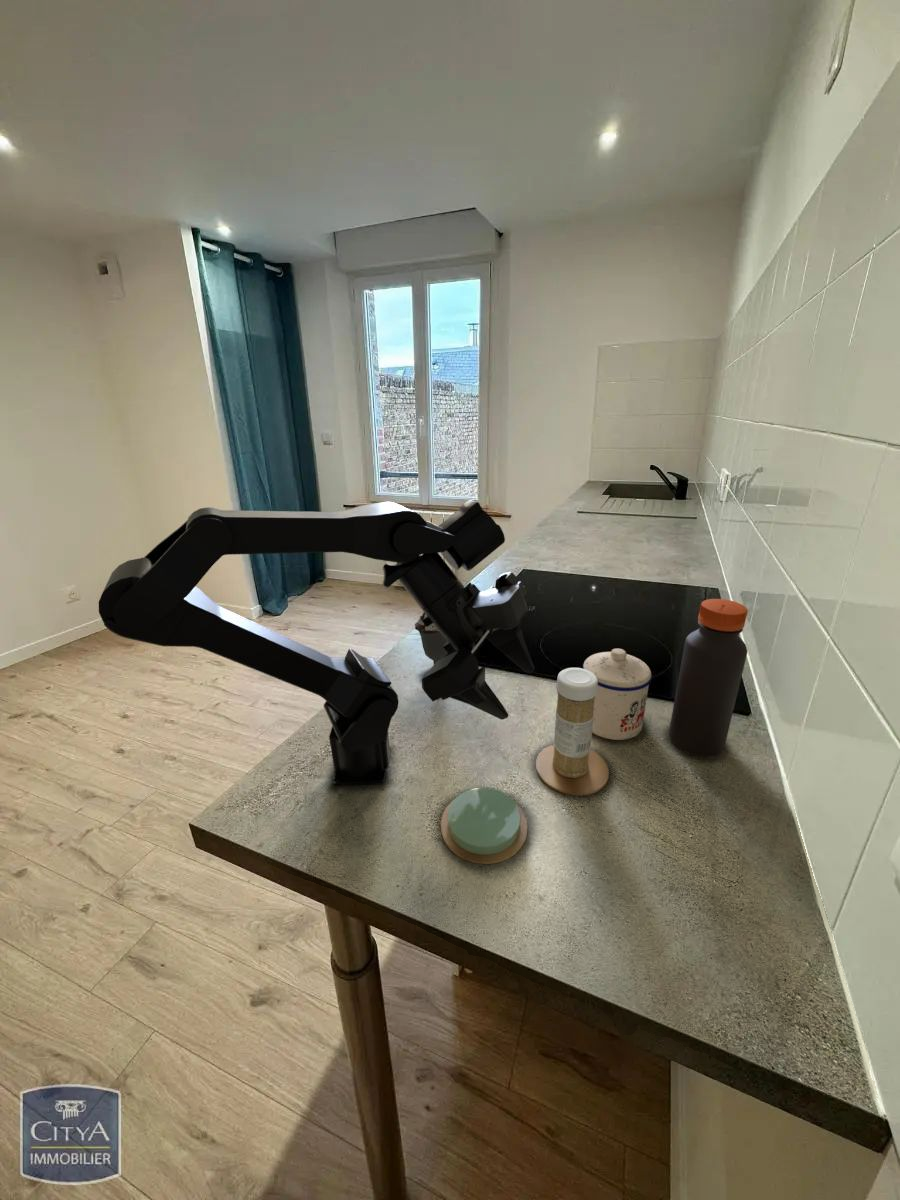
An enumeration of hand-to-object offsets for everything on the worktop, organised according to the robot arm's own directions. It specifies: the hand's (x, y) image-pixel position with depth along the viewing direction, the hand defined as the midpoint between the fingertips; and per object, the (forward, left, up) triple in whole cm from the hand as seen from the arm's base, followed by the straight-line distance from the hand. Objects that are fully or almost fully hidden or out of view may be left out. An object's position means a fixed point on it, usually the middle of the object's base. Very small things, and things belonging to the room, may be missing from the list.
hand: (519, 693), depth 58 cm
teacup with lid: (+16, +8, -10) cm, 20 cm away
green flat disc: (-5, -10, -10) cm, 15 cm away
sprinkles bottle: (+6, -2, -10) cm, 12 cm away
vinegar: (+25, +2, -10) cm, 27 cm away
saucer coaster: (-5, -10, -10) cm, 15 cm away
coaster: (+7, -2, -10) cm, 12 cm away
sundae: (-10, +21, -10) cm, 25 cm away
